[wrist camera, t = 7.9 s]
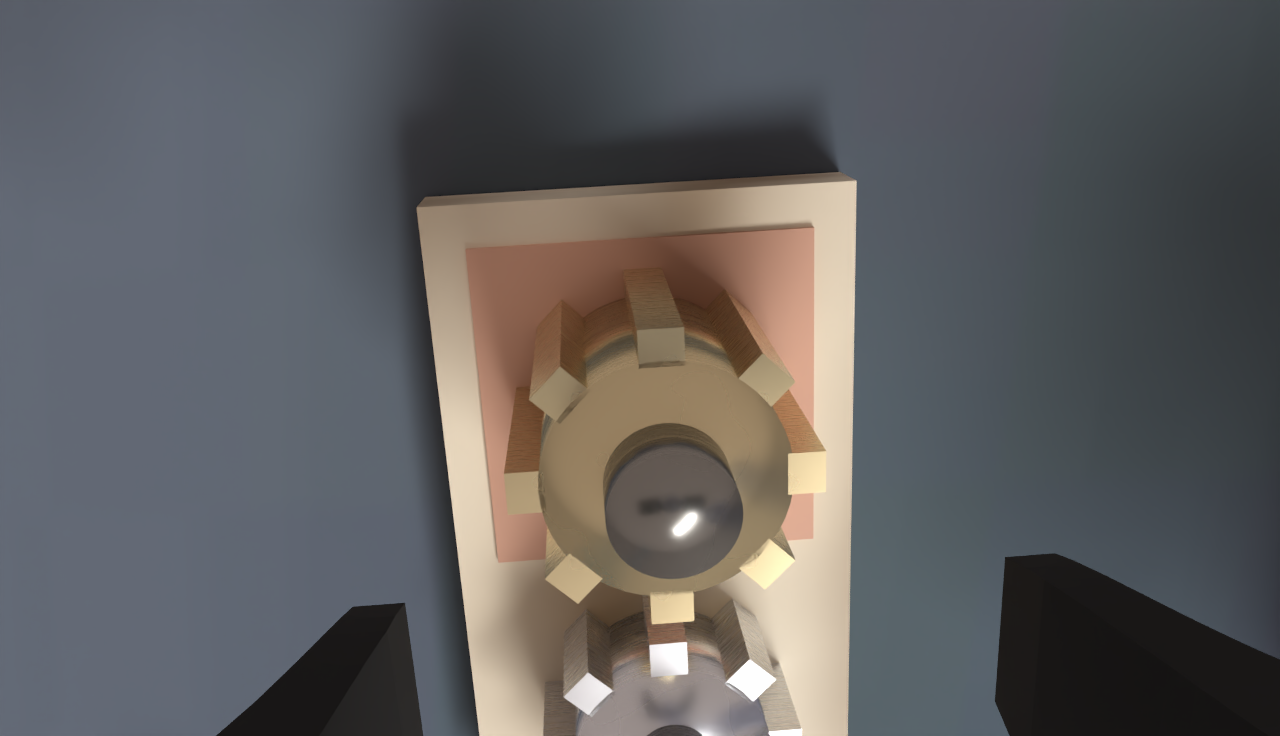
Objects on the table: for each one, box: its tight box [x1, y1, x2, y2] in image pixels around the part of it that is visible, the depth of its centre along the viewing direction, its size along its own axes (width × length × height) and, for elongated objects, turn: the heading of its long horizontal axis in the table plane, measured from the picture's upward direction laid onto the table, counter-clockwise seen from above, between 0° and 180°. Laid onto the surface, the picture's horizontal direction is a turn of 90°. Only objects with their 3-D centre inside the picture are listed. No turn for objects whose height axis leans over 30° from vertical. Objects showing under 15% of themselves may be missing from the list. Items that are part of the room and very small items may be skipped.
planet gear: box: [504, 267, 826, 624], centre depth 17 cm, size 5×5×5 cm
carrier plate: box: [416, 172, 857, 736], centre depth 21 cm, size 8×13×1 cm, turn 3°
